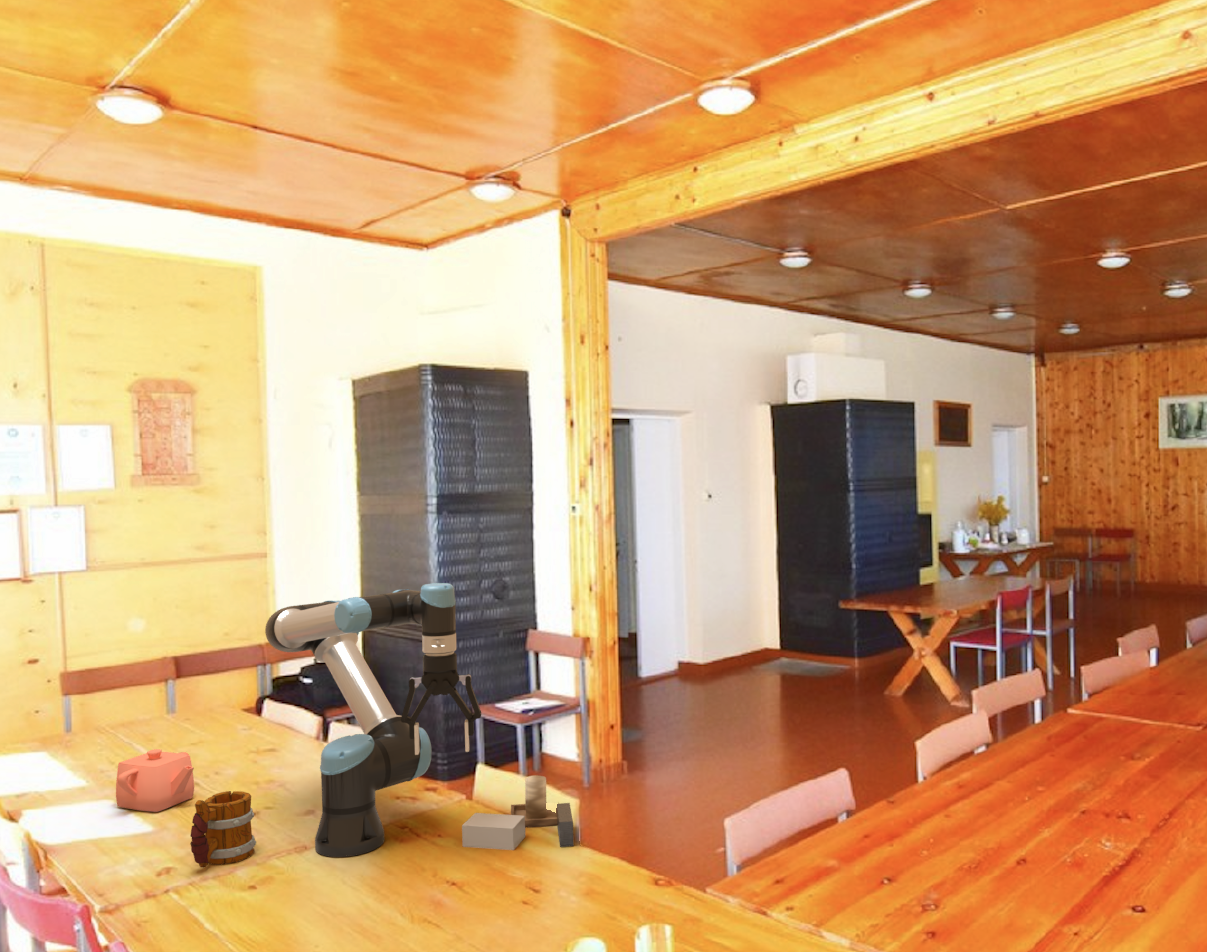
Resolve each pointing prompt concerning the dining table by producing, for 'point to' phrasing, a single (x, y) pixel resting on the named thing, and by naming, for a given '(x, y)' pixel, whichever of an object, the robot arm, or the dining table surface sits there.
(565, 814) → the block
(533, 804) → the roller
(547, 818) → the tray
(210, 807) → the mug
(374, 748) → the robot arm
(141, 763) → the teapot
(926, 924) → the dining table surface
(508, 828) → the slab
